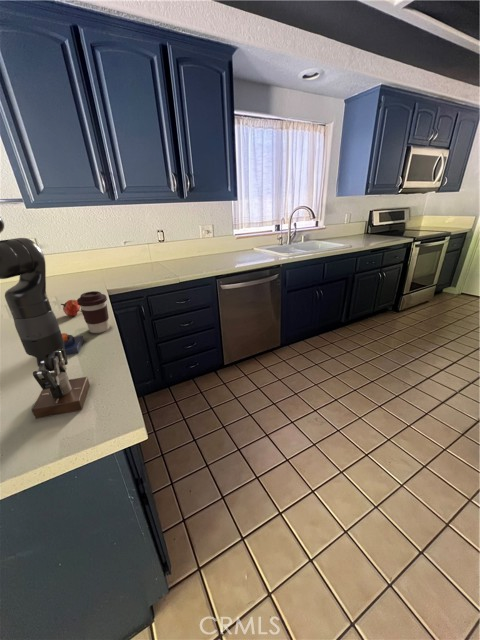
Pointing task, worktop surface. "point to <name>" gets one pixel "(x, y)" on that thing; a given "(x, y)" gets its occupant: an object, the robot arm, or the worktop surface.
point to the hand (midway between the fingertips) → (61, 389)
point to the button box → (73, 344)
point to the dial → (64, 383)
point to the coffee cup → (94, 311)
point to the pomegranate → (71, 308)
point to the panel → (62, 400)
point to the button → (64, 336)
